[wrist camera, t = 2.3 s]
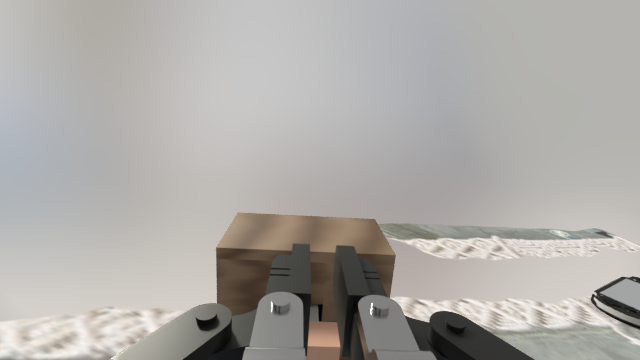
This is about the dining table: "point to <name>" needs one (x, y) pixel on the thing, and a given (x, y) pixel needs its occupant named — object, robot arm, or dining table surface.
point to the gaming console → (620, 300)
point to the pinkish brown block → (322, 338)
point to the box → (277, 238)
